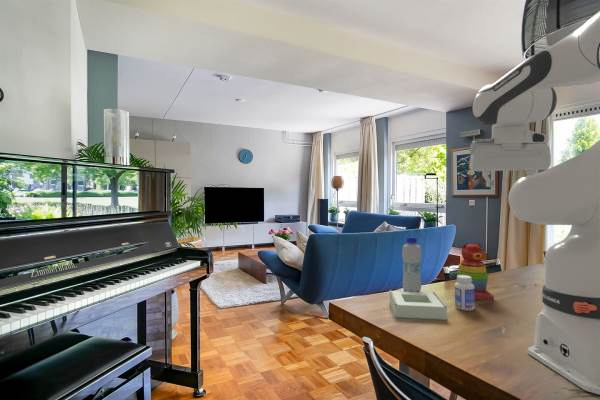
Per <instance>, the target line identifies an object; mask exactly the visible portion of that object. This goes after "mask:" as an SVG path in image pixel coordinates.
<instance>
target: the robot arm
mask: <svg viewBox="0 0 600 400" xmlns="http://www.w3.org/2000/svg"><path fill="white" fill-rule="evenodd" d="M598 82H600V10H598V11H597V12H596V13H595V14H594V15H592V16H591V17H590V18H589V19H588V20H587V21H586V22H584V23H583V24H582V25H581V26H580V27H578V28H577V29H575V30H574V31H573V32H570V34H568V35H567V36H565V37H564V38H562V39H561V40H559V41H557V42H556V43H553V44H552V45H550V46H549V47H546V48H544V49H542V50H540V51H539V52H537V53H535V54H533V55H532V56H530V57H528V58H527V59H525V60H523V61H522V62H521V63H519V64H518V65H516V66H515V67H513V68H512V69H511V70H510V71H508V72H507V73H506V74H505V75H503V76H501V78H499V79H498V80H496V81H495V82H494V83H492V84H486V85H484V86H483V87H482V88H481V89H480V90H479V91H478V92H476V94H475V96H474V98H473V100H472V104H471V110H472V111H471V112H472V115H473V117H474V118H475V120H477V121H478V122H479V123H480V124H481V125H483V126H490V125H491V138H484V139H483V138H482V139H481V138H477V139H475V140H474V141H472V142H471V143H470V145H469V153H470V156H469V157H470V158H469V163H468V164H469V165H468V168H469V170H471V172H482V173H481V175H482V178H483V180H485V187H486V188H487V187H488V188H493V187H494V185H495V181H494V180H491V178H490V175H491V172H495V171H496V172H501V171H503V172H504V171H525V174H526V176H522V177H520V178H518V179H517V180H516V181H515V182H514V183H513V184H512V186H511V188H510V190H509V193H508V205H509V208H510V210H511V212H512V213H513V215H514V216H515V217H516V218H517V219H518V220H520V221H522V222H527V223H530V224H531V223H533V224H537V225H538V224H539V225H544V226H571V227H570V230H569V232H568V234H567V235H566V237H564V239H563V240H561V241H559V242H557V243H554V244H553V245H551V246H550V247H549V248H548V249H547V250H546V252H545V255H544V285H543V286H542V291H541V297H542V299H541V301H542V303H543V304H544V305H543V307H542V309H541V310H540V312H538V314H537V315H536V316H535V317H536V318H535V319H536V320H535V328H534V337H533V338H534V339H533V345H531V346H529V347H528V348H527V354H528V355H530V356H531V357H532V358H534V359H536V360H537V361H539V362H540V363H542V364H544V365H545V366H546V367H548V368H549V369H552V370H553V371H555V372H556V373H558V374H559V375H560V376H562V377H563V378H565V379H567V380H569V381H570V382H571V383H573V384H574V385H576V386H577V387H578V388H581V389H582V390H584V391H586V392H590V393H592V394H594V395H595V394H596V395H599V396H600V139H598V140H597V141H596V142H595V143H594V144H593V145H592V146H590V147H588V148H587V149H586V150H583V152H581V153H579V154H577V155H575V156H573V157H571V158H569V159H567V160H565V161H563V162H561V163H559V164H556V165H554V166H552V167H551V162H552V159H551V158H552V157H551V156H552V155H551V147H550V145H548V144H547V143H548V142H549V135H548V134H545V133H541V132H537V131H534V130H529V128H530V126H529V123H537V122H542V121H544V120H546V119H548V118H549V117H550V116H551V115H552V113H554V112H555V109H556V107H557V102H558V100H557V99H558V96H557V92H556V90H555V88H560V87H571V86H572V87H573V86H583V85H590V84H594V83H595V84H596V83H598ZM541 170H542V171H541ZM536 171H540V172H537V173H536Z"/></svg>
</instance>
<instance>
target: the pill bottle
mask: <svg viewBox="0 0 600 400" xmlns="http://www.w3.org/2000/svg"><path fill="white" fill-rule="evenodd" d="M456 280H457V282H455V284H454V307H455V308H456V309H458V310H461V311H467V312H469V311H473V310H474V309H475V306H476V305H475V301H476V300H475V299H474V285H473V284H472V283H471V282H472V278H471V277H470V276H467V275H458V276H457V275H456Z"/></svg>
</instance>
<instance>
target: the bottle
mask: <svg viewBox="0 0 600 400" xmlns="http://www.w3.org/2000/svg"><path fill="white" fill-rule="evenodd" d="M417 243H418V239H417V237H415V236H408V237H407V238H406V244H403V246H402V250H401V251H402V252H401V256H402V258H401V259H402V274H403V275H402V291H403V292H421V289H422V279H421V275H422V274H421V271H422V270H421V261H422V258H423V257H422V255H423V254H422V249H421V245H419V244H417Z"/></svg>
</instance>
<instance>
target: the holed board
mask: <svg viewBox="0 0 600 400" xmlns="http://www.w3.org/2000/svg"><path fill="white" fill-rule="evenodd" d="M389 304H390V306H391V309H392V313H393V315H394V318H404V319H405V318H407V319H424V320H426V319H427V320H445V321H446V320H448V306H447V304H446V302H444V300H442V298H441V297H440V296H439V295H438V294H437V293H436V291H432V292H427V291H426V292H421V291H420V292H412V291H410V292H404V291H399V290H398V291H393V290H391V289H389Z"/></svg>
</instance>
